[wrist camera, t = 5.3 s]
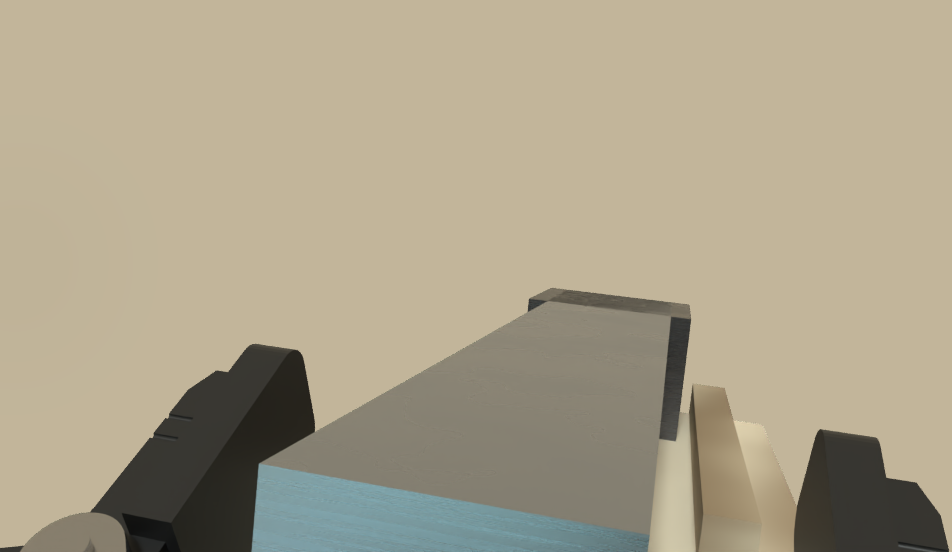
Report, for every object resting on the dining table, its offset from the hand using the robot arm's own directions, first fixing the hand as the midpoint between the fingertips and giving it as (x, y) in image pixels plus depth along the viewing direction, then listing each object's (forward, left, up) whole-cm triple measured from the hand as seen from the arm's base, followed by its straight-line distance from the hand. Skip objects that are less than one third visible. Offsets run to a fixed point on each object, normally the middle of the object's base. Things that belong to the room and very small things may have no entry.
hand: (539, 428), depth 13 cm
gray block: (0, -5, -3) cm, 6 cm away
